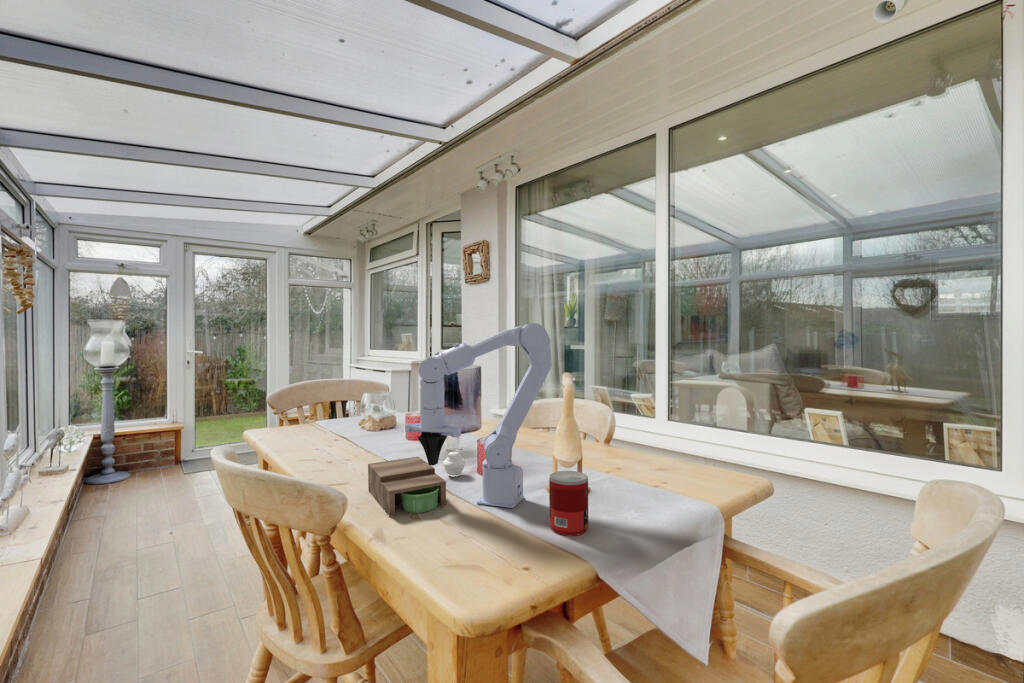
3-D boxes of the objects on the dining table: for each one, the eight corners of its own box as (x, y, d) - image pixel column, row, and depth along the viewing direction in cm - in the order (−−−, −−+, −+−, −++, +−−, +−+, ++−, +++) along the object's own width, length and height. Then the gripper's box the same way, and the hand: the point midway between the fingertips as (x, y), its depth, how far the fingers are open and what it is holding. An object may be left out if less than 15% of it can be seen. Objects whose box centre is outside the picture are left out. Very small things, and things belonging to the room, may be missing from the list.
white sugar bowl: (467, 472, 138) (466, 448, 138) (462, 479, 132) (462, 454, 132) (446, 472, 139) (446, 448, 139) (440, 478, 133) (440, 453, 132)
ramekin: (447, 505, 113) (446, 486, 113) (419, 517, 106) (419, 498, 105) (420, 497, 118) (420, 479, 118) (391, 509, 111) (391, 490, 110)
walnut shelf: (446, 505, 113) (445, 476, 112) (389, 517, 106) (389, 485, 106) (418, 482, 130) (418, 456, 130) (368, 490, 123) (368, 463, 123)
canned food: (593, 534, 96) (593, 480, 96) (554, 537, 95) (554, 483, 95) (581, 519, 104) (581, 469, 103) (545, 522, 102) (545, 471, 102)
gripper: (467, 406, 114) (468, 463, 115) (417, 403, 120) (418, 456, 121) (451, 411, 108) (452, 471, 108) (399, 407, 114) (400, 464, 114)
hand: (433, 464), depth 114 cm, fingers closed
